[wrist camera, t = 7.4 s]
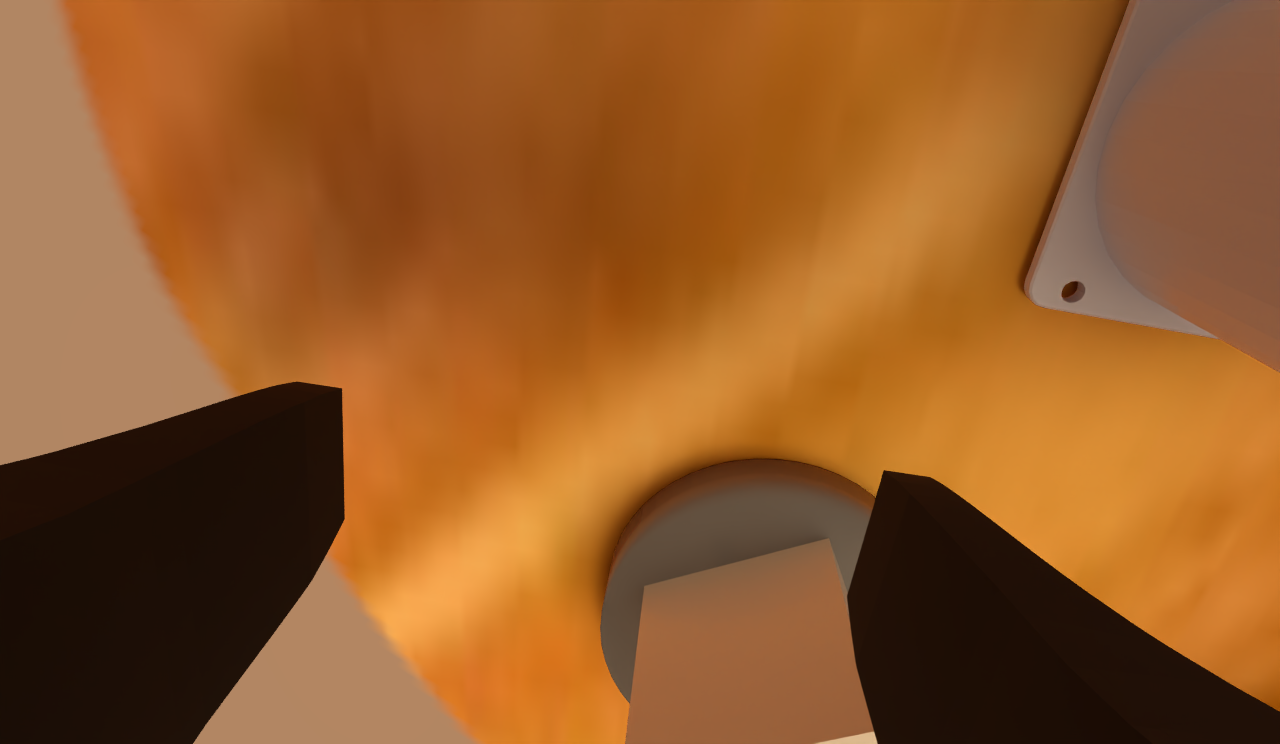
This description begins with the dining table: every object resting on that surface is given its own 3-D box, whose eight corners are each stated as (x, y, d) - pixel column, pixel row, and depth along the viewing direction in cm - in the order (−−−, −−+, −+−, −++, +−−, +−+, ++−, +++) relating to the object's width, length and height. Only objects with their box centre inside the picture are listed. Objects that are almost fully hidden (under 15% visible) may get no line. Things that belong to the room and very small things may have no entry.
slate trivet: (961, 491, 21) (985, 534, 19) (869, 732, 24) (882, 787, 23) (634, 432, 21) (627, 468, 19) (590, 679, 24) (580, 731, 23)
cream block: (828, 537, 19) (876, 731, 14) (878, 684, 21) (939, 908, 16) (644, 585, 20) (620, 782, 15) (705, 721, 22) (704, 944, 17)
